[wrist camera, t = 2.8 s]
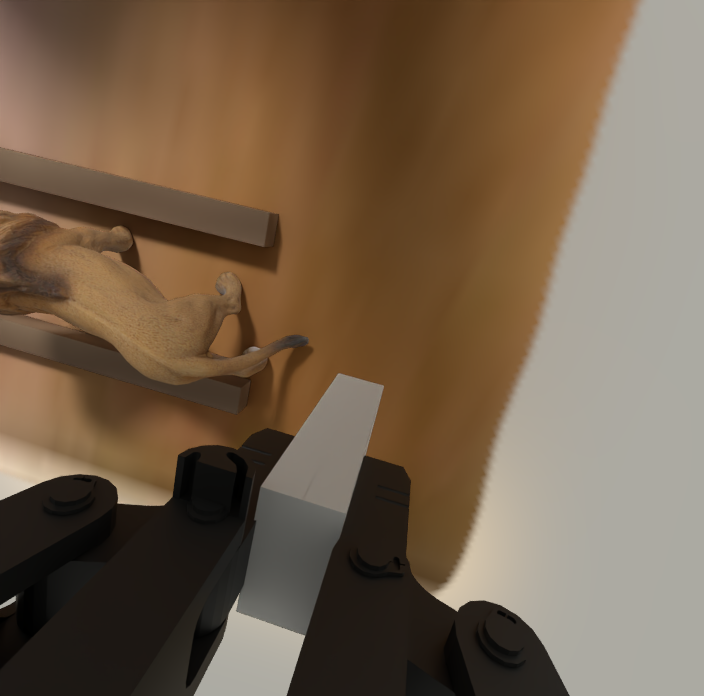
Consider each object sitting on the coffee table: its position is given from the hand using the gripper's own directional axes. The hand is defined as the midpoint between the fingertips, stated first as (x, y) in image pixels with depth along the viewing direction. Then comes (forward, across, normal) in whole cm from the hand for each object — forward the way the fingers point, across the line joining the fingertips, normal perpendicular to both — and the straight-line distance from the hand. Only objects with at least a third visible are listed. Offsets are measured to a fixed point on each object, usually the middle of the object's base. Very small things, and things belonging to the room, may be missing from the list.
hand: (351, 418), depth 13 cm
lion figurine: (+8, -11, 0) cm, 14 cm away
